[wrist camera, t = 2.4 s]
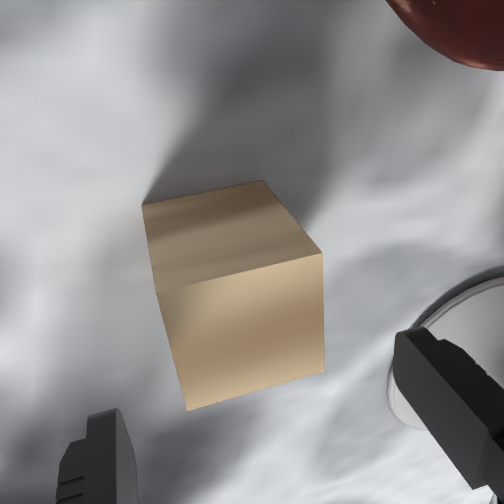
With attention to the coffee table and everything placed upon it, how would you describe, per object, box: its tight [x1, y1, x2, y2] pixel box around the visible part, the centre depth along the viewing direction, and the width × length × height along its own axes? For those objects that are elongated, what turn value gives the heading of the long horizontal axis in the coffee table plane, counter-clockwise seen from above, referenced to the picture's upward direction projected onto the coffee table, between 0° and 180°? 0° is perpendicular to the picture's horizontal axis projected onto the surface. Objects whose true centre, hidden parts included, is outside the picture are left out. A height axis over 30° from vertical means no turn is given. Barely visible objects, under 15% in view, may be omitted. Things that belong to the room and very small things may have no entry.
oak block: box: [141, 180, 325, 411], centre depth 16 cm, size 5×5×6 cm
